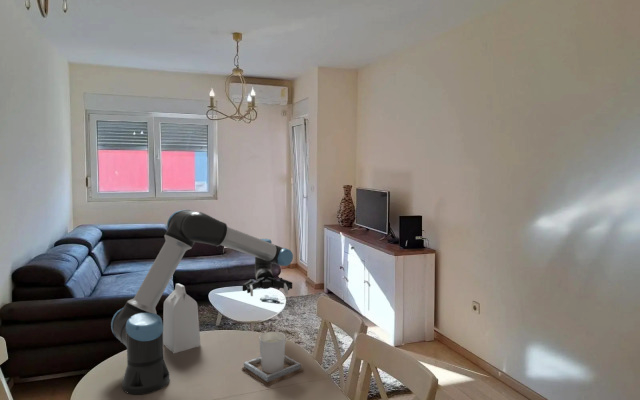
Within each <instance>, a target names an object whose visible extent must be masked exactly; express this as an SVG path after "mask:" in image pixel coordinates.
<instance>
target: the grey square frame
mask: <svg viewBox="0 0 640 400" xmlns="http://www.w3.org/2000/svg"><path fill="white" fill-rule="evenodd" d="M284 362H286V363H287V364H289V365H291V366H290V367H287V368H285V369H282V370H280V371H277V372H275V373H272V374H270V375H267V374H265V373H264V372H262V371H261V370H259V369H257V368H256V367H254V365H256V364H259V363H261V357H260V356H257V357H255V358H252V359H250V360H246V361H244V362H243V367H244V368H245V369H247V370H249V371H250V372H252V373H253V374H255V375H256V376H258V377H259V378H261V379H262V380H264V381H266V382H267V383H268V382H270V381H273V380H275V379H278V378H280V377H282V376H285V375H287V374H290V373H292V372H295V371H297V370H299V369H301V368H302V364H301V363H300V362H298V361H296V360H295V359H292V358H291V357H289V356H287V355H286V354H285V358H284Z"/></svg>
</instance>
